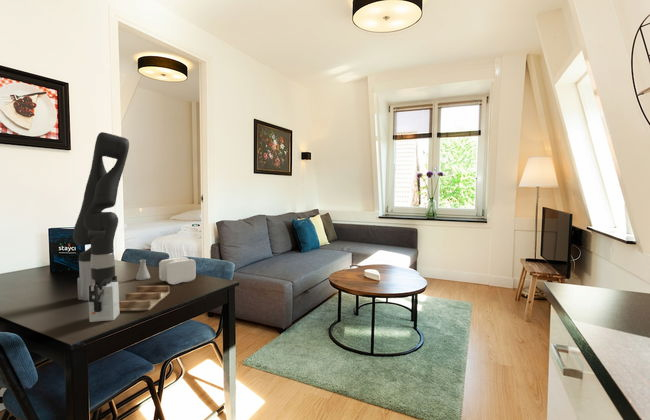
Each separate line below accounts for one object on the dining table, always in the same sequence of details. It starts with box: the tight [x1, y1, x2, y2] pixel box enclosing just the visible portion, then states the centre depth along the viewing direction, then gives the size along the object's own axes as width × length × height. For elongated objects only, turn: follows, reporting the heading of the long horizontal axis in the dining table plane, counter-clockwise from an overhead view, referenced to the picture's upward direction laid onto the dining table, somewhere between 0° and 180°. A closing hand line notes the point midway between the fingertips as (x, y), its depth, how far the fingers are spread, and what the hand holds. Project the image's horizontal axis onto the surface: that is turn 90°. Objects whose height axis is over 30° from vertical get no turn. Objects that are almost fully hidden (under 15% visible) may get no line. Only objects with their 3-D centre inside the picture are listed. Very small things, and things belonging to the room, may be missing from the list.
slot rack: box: [119, 285, 171, 312], centre depth 142 cm, size 14×22×4 cm, turn 5°
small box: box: [88, 281, 121, 323], centre depth 124 cm, size 8×6×13 cm
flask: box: [135, 259, 151, 281], centre depth 177 cm, size 7×7×10 cm
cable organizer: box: [158, 256, 197, 285], centre depth 172 cm, size 15×11×12 cm
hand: (104, 307), depth 124 cm, fingers open, 8 cm apart
